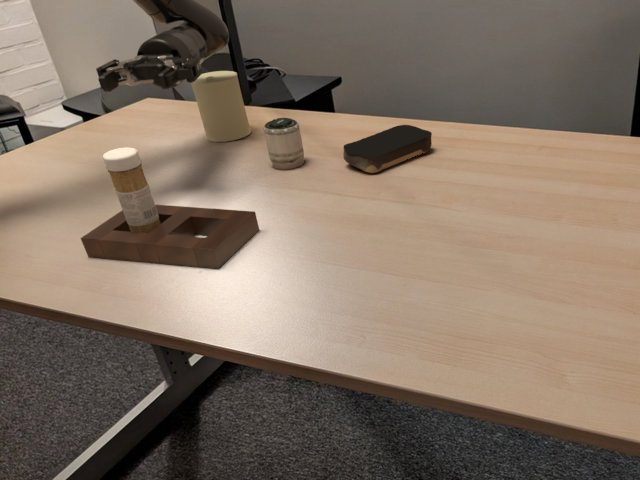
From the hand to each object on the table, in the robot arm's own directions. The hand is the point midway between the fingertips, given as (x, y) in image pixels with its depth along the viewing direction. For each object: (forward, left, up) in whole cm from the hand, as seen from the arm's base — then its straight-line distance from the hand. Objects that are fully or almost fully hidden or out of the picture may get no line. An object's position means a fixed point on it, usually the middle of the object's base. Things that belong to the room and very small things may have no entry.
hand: (133, 83), depth 94 cm
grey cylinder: (+10, +21, -20) cm, 31 cm away
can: (-10, +35, -20) cm, 42 cm away
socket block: (+7, -11, -20) cm, 24 cm away
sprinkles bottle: (+3, -11, -20) cm, 23 cm away
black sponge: (+28, +26, -20) cm, 44 cm away
